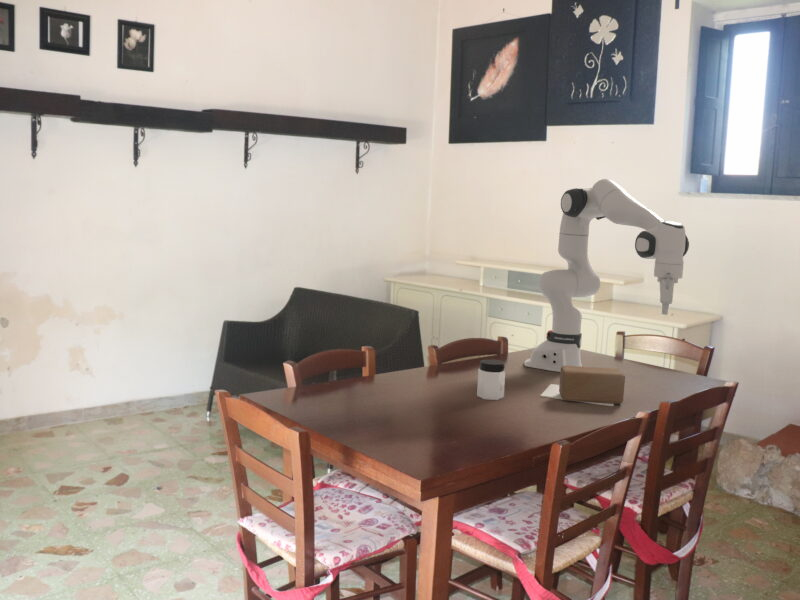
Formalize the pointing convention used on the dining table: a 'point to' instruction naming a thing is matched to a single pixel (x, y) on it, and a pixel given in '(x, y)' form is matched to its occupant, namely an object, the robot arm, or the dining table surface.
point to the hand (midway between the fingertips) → (664, 313)
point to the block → (591, 384)
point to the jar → (491, 379)
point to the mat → (554, 393)
